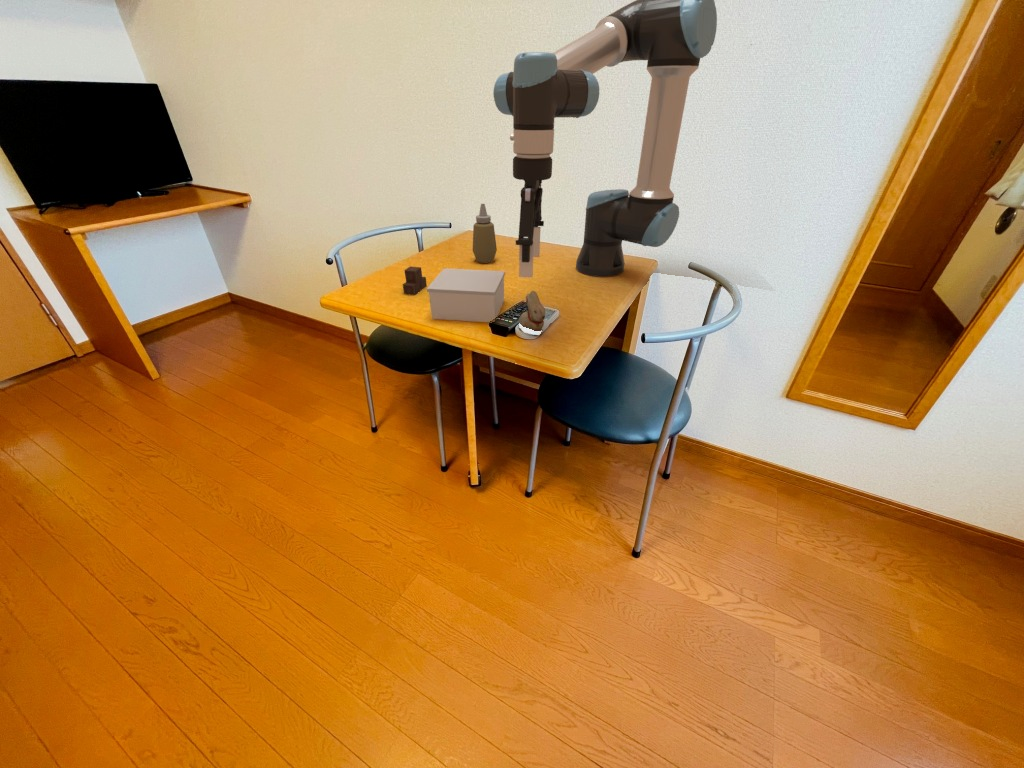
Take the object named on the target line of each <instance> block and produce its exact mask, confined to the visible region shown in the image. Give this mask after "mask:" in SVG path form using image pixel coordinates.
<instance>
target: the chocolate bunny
mask: <svg viewBox="0 0 1024 768" xmlns="http://www.w3.org/2000/svg"><path fill="white" fill-rule="evenodd" d="M525 300H526V302H525V303H526V305H527V308H528V309H527V311H525V312H523V313H521V314H520V316H519V319H518V321H519V323H520V324H521V325H522V326H523V327H526V328H529V329H532V330H534V331H541V330H542V331H543V328H544V325H545V322H544V320H545V319H546V308H545V306H544V305H543V304H542V303H541V301H540V298H539V295H538V293H537V292H536V291H535V290H534V289H533V290H531V291H530V292H529V293H527V294H526V296H525ZM541 335H543V332H541V334H540V335H539V336H541Z"/></svg>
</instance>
